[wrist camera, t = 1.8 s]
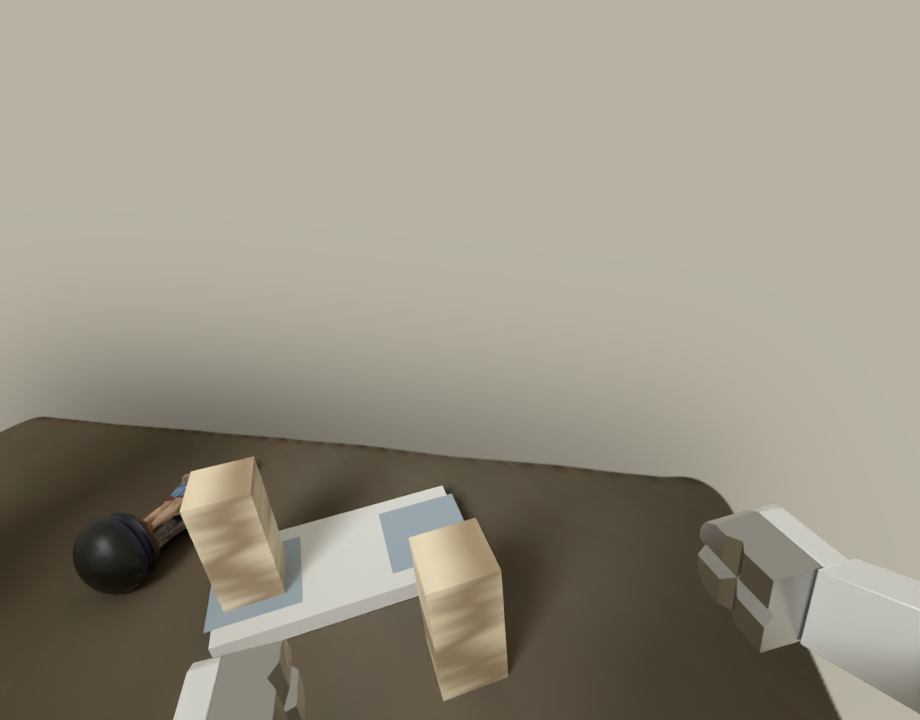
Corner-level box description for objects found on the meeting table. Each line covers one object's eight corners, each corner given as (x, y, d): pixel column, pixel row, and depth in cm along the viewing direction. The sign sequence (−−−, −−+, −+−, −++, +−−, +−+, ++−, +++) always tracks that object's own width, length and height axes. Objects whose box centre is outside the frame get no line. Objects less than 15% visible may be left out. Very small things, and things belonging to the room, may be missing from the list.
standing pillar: (223, 612, 38) (179, 511, 33) (229, 566, 41) (190, 471, 37) (285, 593, 39) (250, 493, 34) (285, 551, 43) (254, 456, 38)
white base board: (207, 665, 36) (200, 651, 35) (222, 560, 44) (217, 547, 44) (483, 574, 41) (482, 560, 40) (448, 496, 49) (447, 483, 48)
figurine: (43, 519, 40) (231, 423, 55) (57, 577, 43) (232, 471, 58) (102, 567, 37) (283, 452, 52) (113, 625, 40) (281, 500, 55)
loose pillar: (443, 701, 32) (425, 595, 28) (426, 639, 36) (408, 537, 32) (508, 676, 33) (501, 570, 29) (484, 619, 37) (475, 517, 33)
